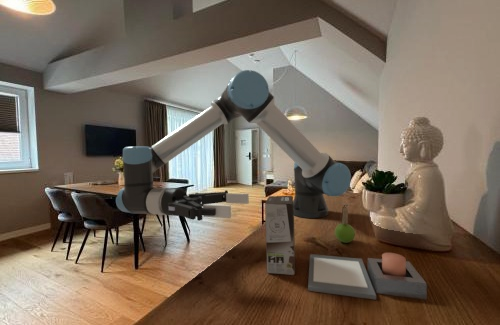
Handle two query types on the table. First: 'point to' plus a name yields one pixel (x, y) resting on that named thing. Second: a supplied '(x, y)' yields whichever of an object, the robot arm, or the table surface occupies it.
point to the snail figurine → (344, 228)
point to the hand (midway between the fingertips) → (240, 204)
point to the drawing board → (339, 276)
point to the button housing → (397, 281)
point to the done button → (393, 264)
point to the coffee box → (280, 235)
